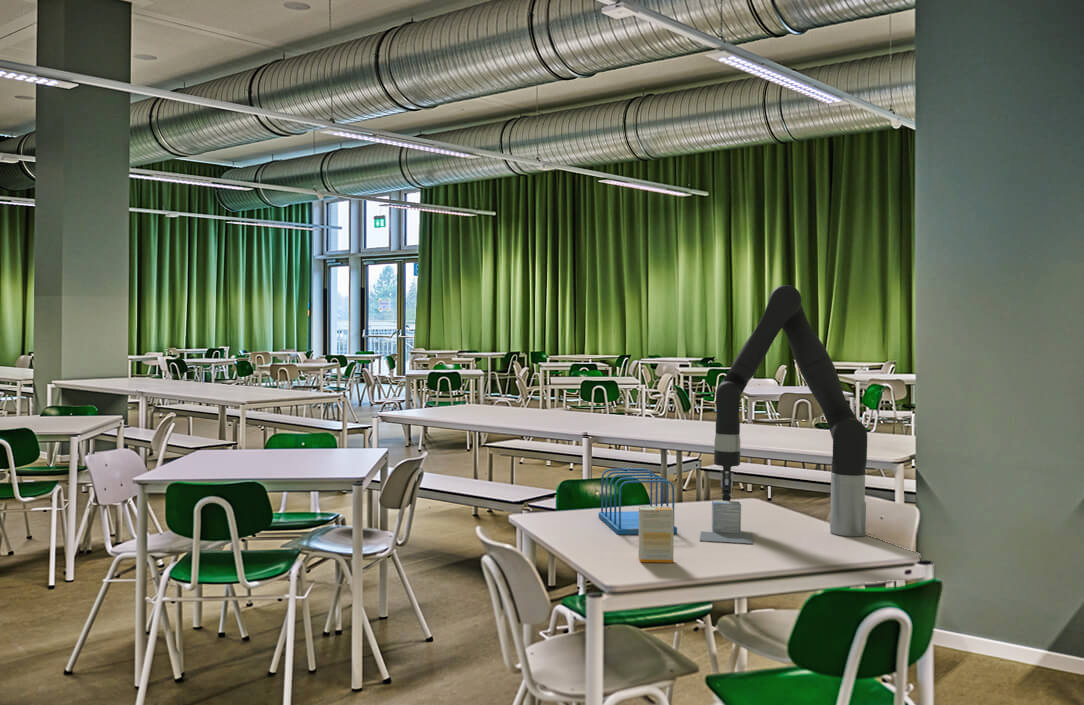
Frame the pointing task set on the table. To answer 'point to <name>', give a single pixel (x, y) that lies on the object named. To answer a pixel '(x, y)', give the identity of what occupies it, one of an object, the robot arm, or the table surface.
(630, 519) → the file sorter
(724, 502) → the medicine box
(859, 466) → the robot arm
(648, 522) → the supplement box
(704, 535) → the felt mat
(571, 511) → the table surface
